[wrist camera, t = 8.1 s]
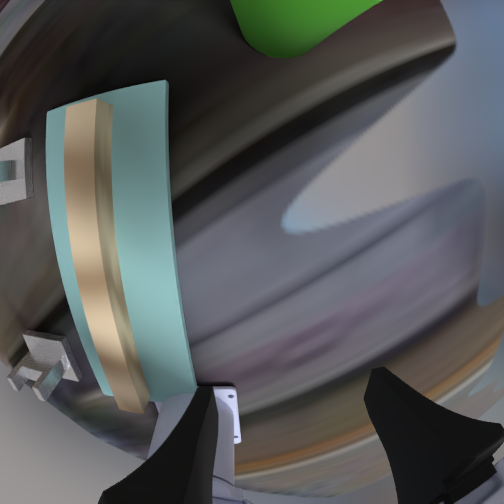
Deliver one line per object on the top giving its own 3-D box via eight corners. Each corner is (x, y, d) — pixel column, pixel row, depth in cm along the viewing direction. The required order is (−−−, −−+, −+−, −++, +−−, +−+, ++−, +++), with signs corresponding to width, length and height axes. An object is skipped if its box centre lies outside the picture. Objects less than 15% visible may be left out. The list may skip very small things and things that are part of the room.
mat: (199, 398, 22) (198, 404, 22) (106, 389, 22) (104, 394, 21) (168, 83, 15) (165, 79, 14) (52, 113, 14) (47, 111, 14)
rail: (150, 395, 21) (144, 413, 19) (127, 392, 21) (120, 409, 19) (113, 105, 14) (96, 98, 12) (84, 112, 14) (66, 106, 12)
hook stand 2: (82, 375, 22) (58, 416, 16) (43, 366, 21) (18, 400, 15) (65, 336, 20) (33, 375, 14) (27, 329, 20) (-5, 361, 14)
